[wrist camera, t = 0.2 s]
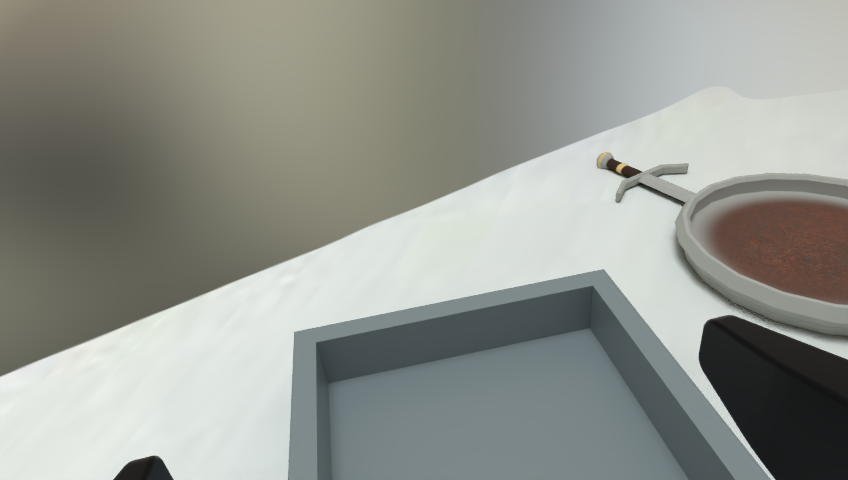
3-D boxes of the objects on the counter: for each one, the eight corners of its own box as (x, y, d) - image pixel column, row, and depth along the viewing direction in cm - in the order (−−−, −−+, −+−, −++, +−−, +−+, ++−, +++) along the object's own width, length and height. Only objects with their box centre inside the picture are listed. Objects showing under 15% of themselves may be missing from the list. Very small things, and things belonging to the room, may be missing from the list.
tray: (832, 660, 18) (871, 606, 16) (309, 806, 17) (276, 768, 15) (599, 320, 34) (603, 269, 31) (310, 381, 32) (294, 332, 30)
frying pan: (665, 119, 53) (1060, 235, 32) (661, 147, 55) (1036, 275, 33) (526, 171, 47) (897, 359, 26) (527, 201, 49) (877, 401, 27)
